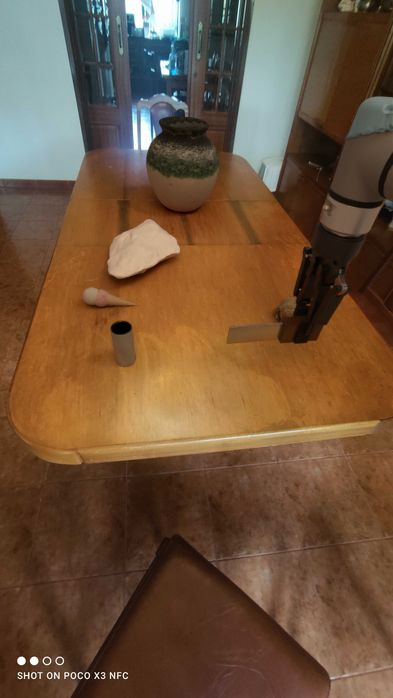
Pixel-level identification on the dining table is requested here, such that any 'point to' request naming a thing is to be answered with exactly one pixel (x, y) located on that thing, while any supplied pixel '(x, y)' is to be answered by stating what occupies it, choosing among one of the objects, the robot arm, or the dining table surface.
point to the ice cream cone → (103, 298)
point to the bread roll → (286, 308)
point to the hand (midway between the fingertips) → (297, 336)
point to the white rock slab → (140, 249)
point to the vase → (182, 163)
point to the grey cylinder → (123, 343)
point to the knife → (269, 331)
